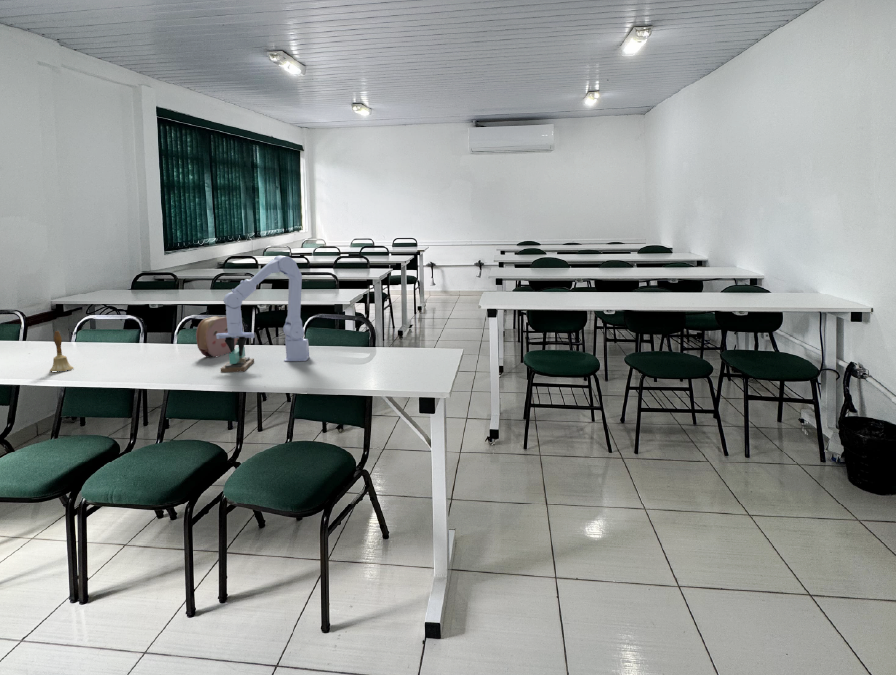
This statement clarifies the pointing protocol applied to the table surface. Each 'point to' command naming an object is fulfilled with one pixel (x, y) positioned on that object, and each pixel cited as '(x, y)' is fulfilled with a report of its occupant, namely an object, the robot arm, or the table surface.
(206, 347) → the face sculpture
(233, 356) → the mint green bar
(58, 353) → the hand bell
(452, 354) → the table surface
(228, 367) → the display stand
